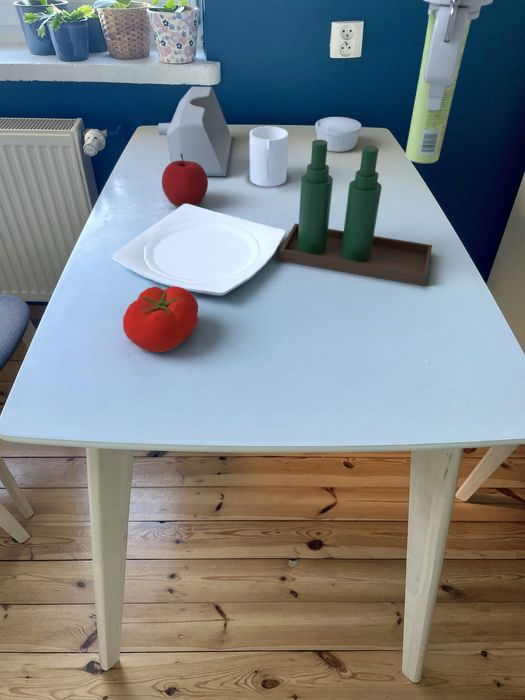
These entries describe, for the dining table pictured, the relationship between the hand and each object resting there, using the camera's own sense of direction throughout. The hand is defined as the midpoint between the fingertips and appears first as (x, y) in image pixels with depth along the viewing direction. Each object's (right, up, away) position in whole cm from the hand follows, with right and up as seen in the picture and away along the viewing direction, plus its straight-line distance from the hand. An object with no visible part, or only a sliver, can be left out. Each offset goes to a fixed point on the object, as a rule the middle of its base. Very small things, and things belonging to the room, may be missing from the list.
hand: (434, 101), depth 76 cm
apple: (-40, -5, +35) cm, 54 cm away
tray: (-8, -19, +20) cm, 28 cm away
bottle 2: (-8, -18, +20) cm, 28 cm away
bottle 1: (-15, -17, +21) cm, 31 cm away
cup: (-23, +2, +43) cm, 49 cm away
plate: (-35, -19, +20) cm, 44 cm away
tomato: (-39, -33, +4) cm, 51 cm away
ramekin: (-6, +16, +60) cm, 62 cm away
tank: (-41, +12, +54) cm, 68 cm away
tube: (0, -6, +6) cm, 8 cm away
